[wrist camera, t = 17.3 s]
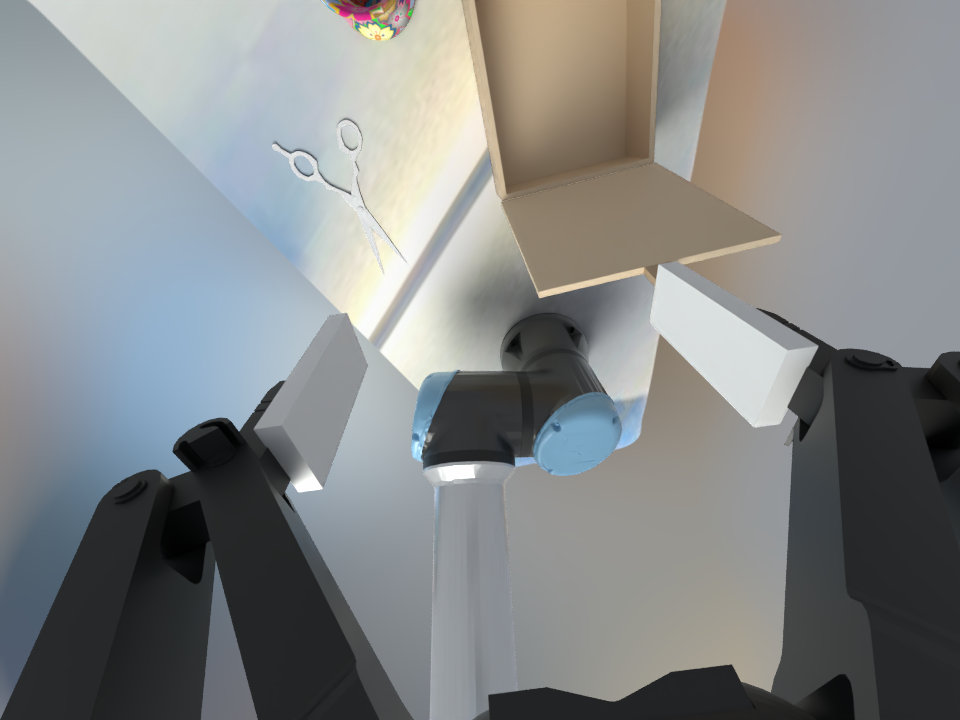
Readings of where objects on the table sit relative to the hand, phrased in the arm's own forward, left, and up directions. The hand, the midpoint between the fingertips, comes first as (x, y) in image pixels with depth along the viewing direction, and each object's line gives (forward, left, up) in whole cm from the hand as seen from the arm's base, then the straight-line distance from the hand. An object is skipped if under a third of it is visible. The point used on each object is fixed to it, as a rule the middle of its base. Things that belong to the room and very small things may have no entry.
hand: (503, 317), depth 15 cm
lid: (-2, -13, -16) cm, 21 cm away
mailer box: (+9, -13, -38) cm, 42 cm away
